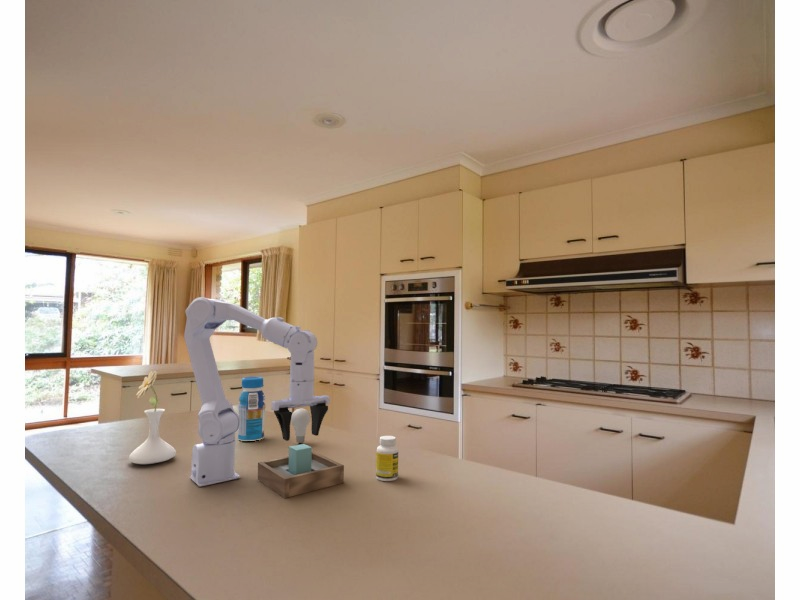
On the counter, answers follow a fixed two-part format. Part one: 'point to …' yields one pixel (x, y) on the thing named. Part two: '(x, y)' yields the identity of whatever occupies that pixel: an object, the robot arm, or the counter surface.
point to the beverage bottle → (251, 409)
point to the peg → (300, 459)
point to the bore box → (300, 475)
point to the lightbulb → (300, 423)
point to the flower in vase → (152, 431)
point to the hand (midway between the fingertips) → (300, 437)
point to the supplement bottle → (387, 459)
